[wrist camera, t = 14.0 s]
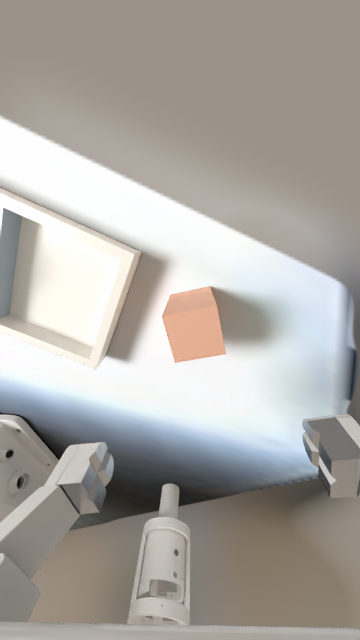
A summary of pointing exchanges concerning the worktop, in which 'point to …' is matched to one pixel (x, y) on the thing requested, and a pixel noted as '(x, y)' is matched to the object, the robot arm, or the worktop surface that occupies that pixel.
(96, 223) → the worktop surface
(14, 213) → the divided tray
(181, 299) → the terracotta block
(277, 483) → the worktop surface
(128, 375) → the worktop surface
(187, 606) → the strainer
